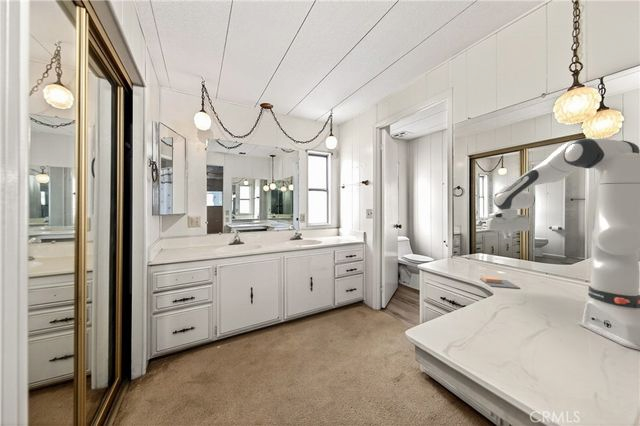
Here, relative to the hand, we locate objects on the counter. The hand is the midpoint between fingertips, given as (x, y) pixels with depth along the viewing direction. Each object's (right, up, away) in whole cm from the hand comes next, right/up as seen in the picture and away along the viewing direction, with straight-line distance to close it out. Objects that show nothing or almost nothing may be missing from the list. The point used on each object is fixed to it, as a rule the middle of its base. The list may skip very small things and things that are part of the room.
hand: (507, 238), depth 137 cm
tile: (-4, -25, +1) cm, 25 cm away
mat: (-5, -26, 0) cm, 27 cm away
